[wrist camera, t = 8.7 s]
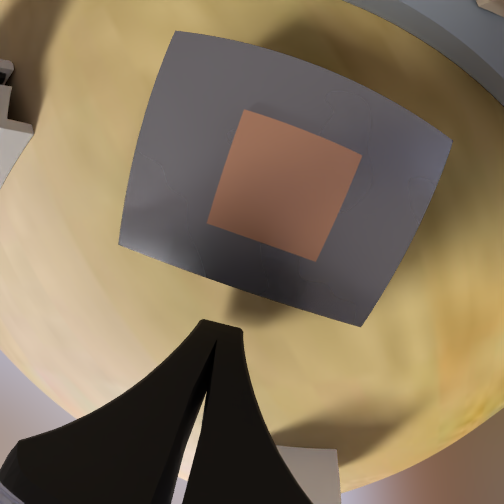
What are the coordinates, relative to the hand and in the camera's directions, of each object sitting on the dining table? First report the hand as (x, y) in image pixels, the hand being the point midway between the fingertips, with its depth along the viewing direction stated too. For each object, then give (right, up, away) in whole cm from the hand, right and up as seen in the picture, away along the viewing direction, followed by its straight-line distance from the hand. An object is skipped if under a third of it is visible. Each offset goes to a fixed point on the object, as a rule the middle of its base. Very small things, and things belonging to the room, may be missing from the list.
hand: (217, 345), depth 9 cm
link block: (+2, +6, -1) cm, 6 cm away
